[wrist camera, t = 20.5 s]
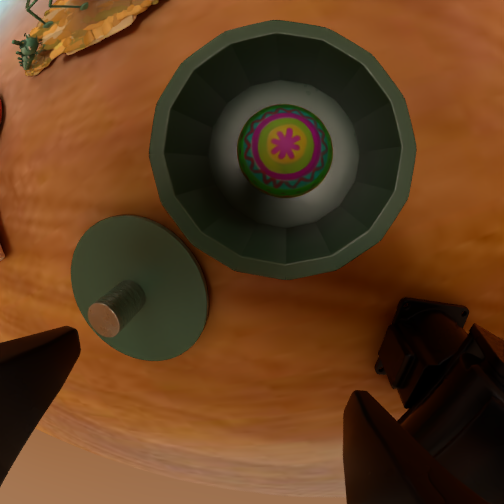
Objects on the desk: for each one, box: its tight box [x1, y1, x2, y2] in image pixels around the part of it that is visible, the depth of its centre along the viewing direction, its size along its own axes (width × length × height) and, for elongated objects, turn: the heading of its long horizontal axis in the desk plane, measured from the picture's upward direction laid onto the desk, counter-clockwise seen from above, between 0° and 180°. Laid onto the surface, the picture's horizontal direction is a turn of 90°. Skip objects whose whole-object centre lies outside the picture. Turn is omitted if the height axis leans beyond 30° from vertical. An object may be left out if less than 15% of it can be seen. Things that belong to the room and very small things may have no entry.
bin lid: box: [71, 215, 209, 361], centre depth 19 cm, size 11×11×5 cm
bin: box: [149, 20, 417, 280], centre depth 14 cm, size 10×10×8 cm
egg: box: [237, 104, 333, 198], centre depth 14 cm, size 5×5×6 cm
